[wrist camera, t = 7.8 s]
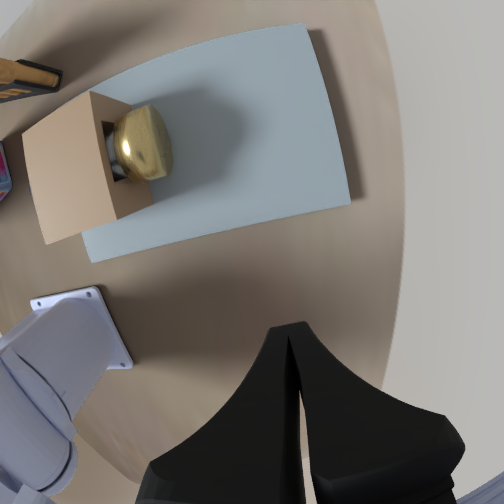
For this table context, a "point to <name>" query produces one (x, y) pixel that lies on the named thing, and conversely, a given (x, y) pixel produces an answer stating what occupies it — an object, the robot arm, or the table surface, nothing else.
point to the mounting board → (194, 146)
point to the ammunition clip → (26, 79)
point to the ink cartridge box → (4, 174)
